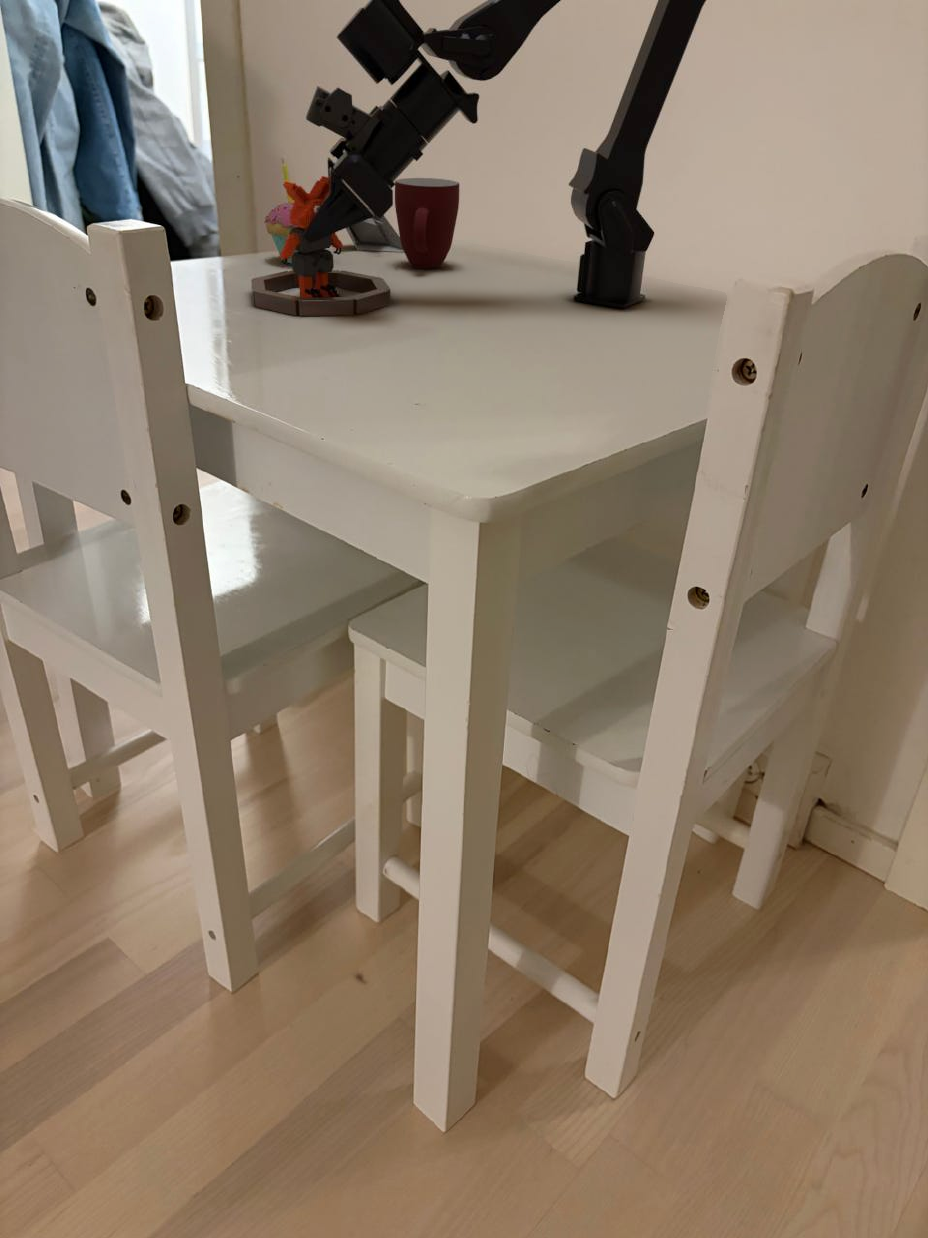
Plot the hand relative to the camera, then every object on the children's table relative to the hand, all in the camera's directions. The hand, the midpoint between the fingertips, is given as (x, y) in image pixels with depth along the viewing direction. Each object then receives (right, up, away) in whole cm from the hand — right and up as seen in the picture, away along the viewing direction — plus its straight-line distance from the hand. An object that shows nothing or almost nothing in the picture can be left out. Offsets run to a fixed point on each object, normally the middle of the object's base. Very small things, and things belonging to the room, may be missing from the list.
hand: (305, 234), depth 102 cm
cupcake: (-4, +5, +21) cm, 22 cm away
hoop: (+1, -6, +4) cm, 7 cm away
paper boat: (+4, +9, +29) cm, 31 cm away
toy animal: (+1, -6, +4) cm, 7 cm away
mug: (+12, +4, +20) cm, 24 cm away
